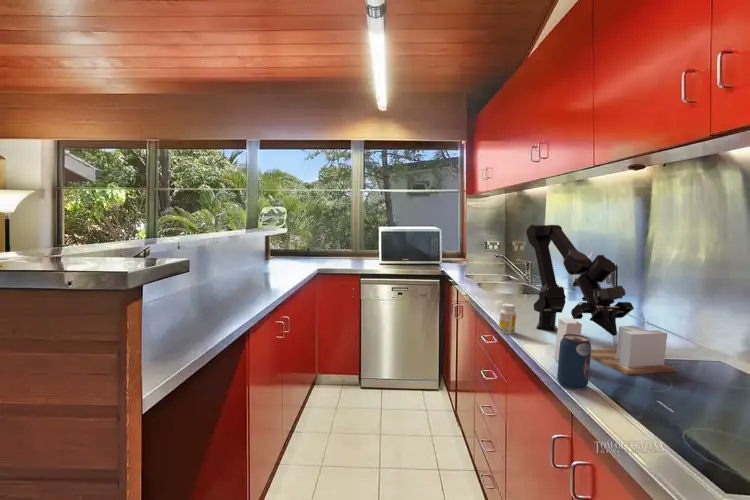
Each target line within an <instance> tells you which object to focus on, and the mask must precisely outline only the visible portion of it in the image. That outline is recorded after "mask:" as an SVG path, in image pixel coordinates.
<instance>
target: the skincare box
mask: <svg viewBox="0 0 750 500" xmlns="http://www.w3.org/2000/svg"><path fill="white" fill-rule="evenodd" d="M582 327H583V324H582V323H581V322H579V321H578V320H577V319H574V318H573V317H572V318H571V317H559V318H558V325H557V331H556V332H557V333H556V334H557V335H556V342H555V351H554V359H555V361H557V362H558V361H559V350H560V341H561V340H562V338H563V335H565V334H576V335H581V336H582Z"/></svg>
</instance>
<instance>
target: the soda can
mask: <svg viewBox="0 0 750 500" xmlns="http://www.w3.org/2000/svg"><path fill="white" fill-rule="evenodd" d="M591 349H592V345H591V343H590V338H589V337H587V336H584V335H582V334H581V335H576V334H565V335H563V338H562V340H561V341H560V350H559V361H557V362H558V363H557V371H556V372H557V373H556V374H557V375H556V378H557V381H558V383H559V385H560V386H561V387H564V388H566V389H568V390H572V389H583V390H584V389H585V388H586V387H587V386H588V384H589V377H590V367H591V358H590V357H591Z"/></svg>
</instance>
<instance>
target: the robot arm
mask: <svg viewBox="0 0 750 500" xmlns="http://www.w3.org/2000/svg"><path fill="white" fill-rule="evenodd" d="M525 233H526V237H527V240H528V242H529V243H528V244H530V245H531V246H532V248H533V249H534V252H535V256H536V261H537V266H538V273H539V278H540V282H541V287H540V290H539V291H538V299H537V300H536V301H535V303H534V304H533V310H534V311H535V312H538V323H537V325H536V329H538V330H544V331H545V330H546V331H550V332H551V331H552V332H557V331H556V330H557V329H558V325H557V326H556V322H557V321H556V319H557V313H558V314H559V313H563V310H564V308H565V306H566V305H565V304H566V298H567V297H566V295H565V288H564V287H563V286H559V285H558V284H557V280H556V275H555V271H554V265H553V261H552V255H551V251H550V244H551V242H552V243H553V245H554V247H556V249H557V251H558V253H560V255H561V257H562V258H563V265H564V268H565V270H566V272H567V274H569V275H571V276H574V275H575V276H577V275H578V277H575V278H574V281H573V282H572V286H573V287H578V288H579V290H580V292H581V293H582V295H583V297H582V298H581V299H582V302H580V301H579V303H577V304H576V305H575V306H574V307H573V308H572V309H571V312H570V313H571V314H570V315H571V316H572V318H573V319H574V320H582V318H584V317H583V316H584V315H583V314H590V316H591V317H590V318H589V321H591V322H594V323H595V324H597V325H598V326H600V327H601V328H602V329H604V330H605V331H606V332H607V333H609V334H610V335H611V336H618V330H617V323H616V322H617V321H616V320H617V319H622V318H624V317H626V316H627V315H628V314H630V312H632V311H633V310H634V309H635V307H634V306H633V304H632V303H631V302H629V301H618V302H616V303H615V300H619V299H623V297H624V296H626V291H625V287H624V286H622V285H616V286H612V287H611V286H610V287H606V288H603V287H601V285H600V283H603V282H605V281H606V280H607V279H608V278H610V276H611V275H613V273H615V271H616V269H617V266H616V264H615V262H613V261H612V260H611V259H610V258H607V257H605V254H598V255H597V256H596V257H595V258H594V260H593V261H592V260H591V259H590V258H589V257H588V256H587V255H586V254H585V253H583V252H581V251H579V250H578V249H577V248H576V246H575V245H574V244H573V243H572V241H571V240H570V239H569V237H568V236H567V235H566V234H565V232H564V230H563V228H562V225H558V224H530V225H529V226H528V228H526V232H525ZM614 303H615V304H614ZM612 304H614V305H613V306H612Z"/></svg>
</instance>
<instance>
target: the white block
mask: <svg viewBox="0 0 750 500" xmlns="http://www.w3.org/2000/svg"><path fill="white" fill-rule="evenodd" d="M667 338H668V333H667V332H665V331H662V330H659V329H655V330H653V329H652V330H648V329H644V328H641V327H638V326H635V325H619V326H618V330H617V344H616V348H617V352H616V357H617V358H620V364H622V365H624V366H627V367H640V366H658V365H664V364H665V357H666V349H667V341H668V339H667Z"/></svg>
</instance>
